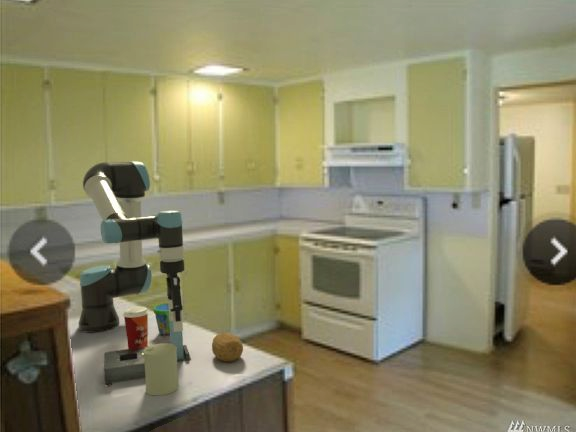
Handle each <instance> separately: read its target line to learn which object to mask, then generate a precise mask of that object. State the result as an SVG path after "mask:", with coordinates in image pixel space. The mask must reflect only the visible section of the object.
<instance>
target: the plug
mask: <svg viewBox="0 0 576 432" xmlns="http://www.w3.org/2000/svg"><path fill="white" fill-rule="evenodd" d="M169 328H170V335H169V340H170V341H169V344H174V345H175V346H176V347H177V360H178V359H184V356H183V345H184V340H183V339H184V338H183V331H176V332H174V327H173V314H171V315H169Z"/></svg>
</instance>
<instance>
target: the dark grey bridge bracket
mask: <svg viewBox="0 0 576 432" xmlns="http://www.w3.org/2000/svg"><path fill="white" fill-rule="evenodd" d="M183 356H184V359H178V360H177V363H183V362H188V361H189V362H190V361H192V358H191V355H190V352H189V349H188V346H187V344H183Z"/></svg>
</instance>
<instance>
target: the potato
mask: <svg viewBox="0 0 576 432" xmlns="http://www.w3.org/2000/svg"><path fill="white" fill-rule="evenodd" d="M211 350H212V353H213V355H214V356H215V357H216V358H217V359H218V360H220V361H223V362H228V363H230V362H234V361H235V362H236V361H237V360H238V359H239V358H240V357H241V356H242V355H243V352H244V345H243V343H242V341H241V339H240V338H239V337H238V336H237V335H234V334H231V333H228V332H222V333H218V334H216V335H215V336H214V338H213V339H212V343H211Z"/></svg>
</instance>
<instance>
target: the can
mask: <svg viewBox="0 0 576 432" xmlns="http://www.w3.org/2000/svg"><path fill="white" fill-rule="evenodd" d="M143 352H144V362H145V377H146V378H145V392H146V393H147V394H148V395H152V396H163V395H164V396H165V395H169V394H172V393H174V392H176V391H177V390H178V389H179V388H180V384H179V374H178V373H179V372H178V362H177V347H176V346H175V345H174V344H170V342H169V343H165V342H161V343H156V344H151V345H149V347H147V348H145V349H144V351H143Z"/></svg>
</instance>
